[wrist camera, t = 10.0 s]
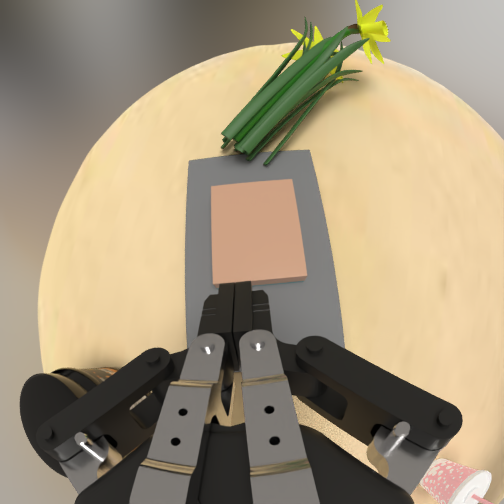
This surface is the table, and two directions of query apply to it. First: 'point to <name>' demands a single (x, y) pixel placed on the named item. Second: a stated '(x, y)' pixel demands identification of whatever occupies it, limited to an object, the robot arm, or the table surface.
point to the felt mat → (313, 236)
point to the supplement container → (57, 400)
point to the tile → (256, 234)
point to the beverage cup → (456, 483)
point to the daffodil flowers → (301, 83)
